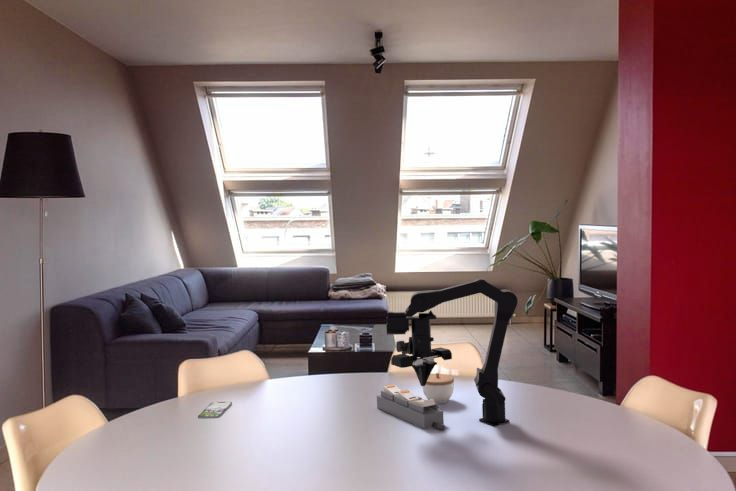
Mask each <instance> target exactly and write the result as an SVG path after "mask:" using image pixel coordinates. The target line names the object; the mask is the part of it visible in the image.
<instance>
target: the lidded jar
mask: <svg viewBox="0 0 736 491" xmlns="http://www.w3.org/2000/svg"><path fill="white" fill-rule="evenodd" d="M454 382H455V378H454V377H453V376H452V375H449V374H443V373H441V374H440V373H439V372H436V373H435V374H434V373H433V374H430V375H429V378H428V380H427V382H426V385H425V386H421V387H422V392H423V394H424V396H425V399H434V403H436V404H438V405H439V404H446V403H447V402H448V401H449V399H450V398H452V396H453V394H454V385H455V383H454Z"/></svg>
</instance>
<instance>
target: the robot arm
mask: <svg viewBox="0 0 736 491" xmlns="http://www.w3.org/2000/svg"><path fill="white" fill-rule="evenodd" d="M478 294H482V295H483V296H485V297H487V298H489V299H490V300H493V302H494V304H493V306H494V307H493V308H494V312H493V313H494V314H493V315H494V319H493V324H492V329H491V334H490V337H489V342H488V345H487V346H488V347H487V349H486V350H487V351H486V355H485V360H484V363H483V365H482V367H481V368H479V367H477V368H476V373H475V374H476V375H475V377H474V379H473V381H474V383H475V387H476V390H477V392H478V394H479V396H480V397H481V398H482V405H481V406H482V407H481V410H482V411H481V412H482V417H481V418H479V419H478V421H479V422H482V423H486V424H487V425H490V426H492V427H495V426H499V425H503V424H507V423H509V422H510V419H507V418H506V397H505V394H504V393H503V391H502V389H500V387H499V365H500V361H501V360H500V359H501V355H502V351H503V346H504V342H505V338H506V334H507V330H508V326H509V322H510V320H511V319H512V317H513V316H514V313H515V311H516V308H517V305H518V297H517V296H516V294H514V292H512V291H511V290H509V289H504V288H503V289H500V288H498V287H497V286H495V285H494V284H491V283H489V282H488V281H487V280H486V279H484V278H476V279H475V280H471V281H467V282H463V283H460V284H457V285H456V284H455V285H452V286H449V287H446V288H442V289H429V290H427V289H426V290H419V291H416V292H415V291H414V292H413V294H412V295H411V297H410V303H409V305H408V306H407V307H406V309H405V311H398V312H397V311H387V313H386V324H385V326H386V328H385V329H386V335H390V336H391V335H395V336H396V335H407V334H406V333H408V332H409V331H410V328H411V336H409V337H408V342H406V341H404V340H398V341H396V345H395V348H396V352H398V353H399V354H394V355H392V356H391V360H390V364H391V365H392V366H395V367H398V368H401V369H402V368H410V367H412V369H413V370H414V372H415V374H416V377H417V380H418V382H419V385H420V387H422V386H425V385H426V382H427V380H428V378H429V375H431V373H432V372H433V370H434V368H435V366H436V365H437V366H438V362H436V361H435V359H438V358H442V360H443V361H448V360H452V359H453V355H452V354H453V353H452V350H450V349H448V348H445V347H441V346H440V347H436V348H432V342H434V337H433V336H432V331H431V329H432V328H431V320H437V315H436V314H435V313H434V312H433V310H432V309H434V308H436V307H437V306H439V305H441V304H443V303H446V302H451V301H454V300H459V299H461V298H465V297H470V296H473V295H478ZM426 311H428V312H426ZM417 313H418V315H416V314H417ZM415 315H416V316H415ZM410 322H411V323H410ZM410 324H411V325H410Z"/></svg>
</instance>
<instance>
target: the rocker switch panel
mask: <svg viewBox="0 0 736 491" xmlns="http://www.w3.org/2000/svg"><path fill="white" fill-rule="evenodd" d="M416 396H417V397H418V398H419V400H421V399H423V398H422V397H421V396H418V395H416ZM394 398H395V399H394ZM376 408H377V409H378V410H380V411H383V412H385V413H388V414H390V415H392V416H395V418H396V417H397V418H399V419H401V420H403V421H406V422H408V423H410V424H412V425H414V426H416V427H419V428H421V429H422V430H426V429H431V428H435V429H438V430H439V431H444V430H445V425H444V424H445V423H444V421H445V420H444V411H443V410H441V409H440V408H439V404H437V403H435V405H431V406H426V407H422V406H420V405H417V404H415V403H412V402H409V403H408V401H407V400H405V399H402V398H400V397H397V396H394V395H392V394H390V393H387V392H385V391H384V390H380V394H378V395H376Z"/></svg>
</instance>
